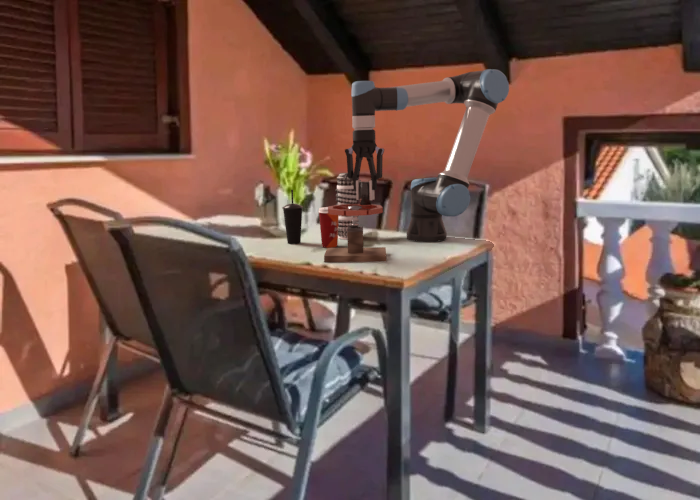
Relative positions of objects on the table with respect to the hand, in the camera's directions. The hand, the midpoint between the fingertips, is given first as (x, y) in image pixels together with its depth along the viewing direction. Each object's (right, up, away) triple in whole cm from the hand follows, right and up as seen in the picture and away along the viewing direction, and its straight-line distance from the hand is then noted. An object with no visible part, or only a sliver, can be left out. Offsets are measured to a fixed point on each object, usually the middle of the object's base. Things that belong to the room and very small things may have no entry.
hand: (365, 199), depth 226 cm
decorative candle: (-6, -12, +35) cm, 38 cm away
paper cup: (-13, -16, +18) cm, 27 cm away
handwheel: (-3, -10, -5) cm, 12 cm away
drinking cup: (-26, -15, +26) cm, 40 cm away
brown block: (-3, -19, -3) cm, 20 cm away
